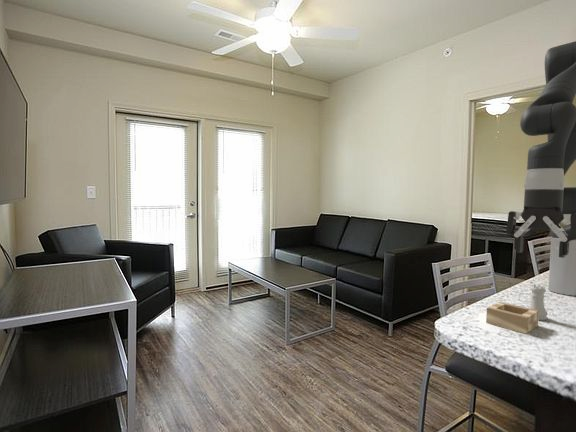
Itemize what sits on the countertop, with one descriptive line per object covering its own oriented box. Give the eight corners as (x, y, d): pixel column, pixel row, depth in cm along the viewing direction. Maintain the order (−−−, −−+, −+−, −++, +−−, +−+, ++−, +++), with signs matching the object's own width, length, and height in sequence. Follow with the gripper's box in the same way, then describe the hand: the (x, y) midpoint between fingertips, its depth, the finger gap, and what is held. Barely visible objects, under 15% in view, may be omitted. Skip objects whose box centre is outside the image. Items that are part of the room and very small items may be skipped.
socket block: (499, 315, 84) (500, 301, 84) (538, 325, 78) (538, 310, 77) (486, 322, 79) (486, 307, 79) (525, 333, 73) (526, 317, 73)
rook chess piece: (551, 321, 80) (553, 288, 80) (530, 320, 81) (532, 287, 81) (541, 315, 85) (543, 284, 84) (521, 313, 86) (523, 283, 85)
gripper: (586, 188, 78) (581, 257, 79) (515, 189, 89) (512, 249, 90) (577, 187, 73) (573, 260, 74) (504, 188, 85) (501, 252, 85)
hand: (539, 254), depth 82 cm, fingers open, 8 cm apart
